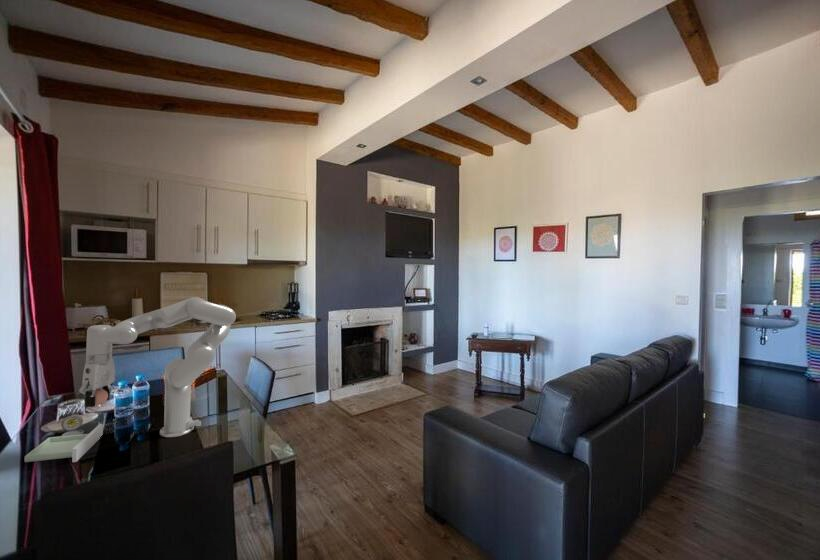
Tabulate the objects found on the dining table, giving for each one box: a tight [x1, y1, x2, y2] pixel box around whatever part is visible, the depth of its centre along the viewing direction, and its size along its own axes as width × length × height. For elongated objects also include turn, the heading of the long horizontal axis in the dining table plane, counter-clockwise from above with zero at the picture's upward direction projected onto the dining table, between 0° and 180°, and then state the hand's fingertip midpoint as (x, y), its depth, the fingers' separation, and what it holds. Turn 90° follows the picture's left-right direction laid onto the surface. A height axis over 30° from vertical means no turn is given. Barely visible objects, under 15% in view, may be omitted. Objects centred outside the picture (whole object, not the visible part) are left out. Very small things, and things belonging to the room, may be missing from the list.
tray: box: [24, 433, 89, 463], centre depth 137 cm, size 14×14×2 cm
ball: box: [94, 388, 108, 406], centre depth 137 cm, size 6×6×6 cm
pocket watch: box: [61, 408, 84, 436], centre depth 148 cm, size 8×8×10 cm
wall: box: [71, 423, 104, 463], centre depth 139 cm, size 1×20×5 cm, turn 20°
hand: (97, 402), depth 138 cm, fingers closed on ball, 5 cm apart
